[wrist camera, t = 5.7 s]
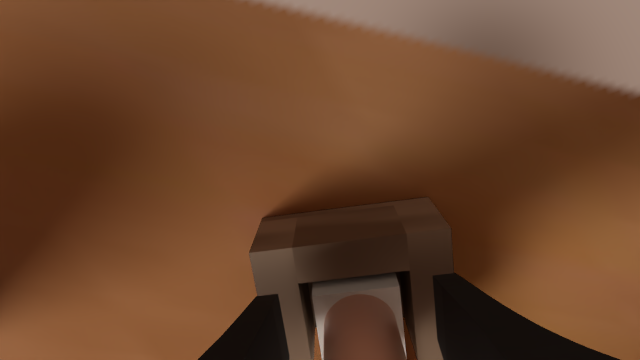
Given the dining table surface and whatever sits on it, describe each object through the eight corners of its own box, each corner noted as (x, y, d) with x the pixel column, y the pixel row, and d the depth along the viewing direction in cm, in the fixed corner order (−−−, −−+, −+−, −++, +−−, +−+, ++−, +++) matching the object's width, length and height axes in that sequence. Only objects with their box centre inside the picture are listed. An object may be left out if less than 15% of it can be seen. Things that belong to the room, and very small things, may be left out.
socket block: (436, 307, 17) (458, 358, 14) (282, 324, 17) (273, 377, 14) (428, 197, 15) (451, 228, 13) (262, 217, 16) (248, 252, 13)
